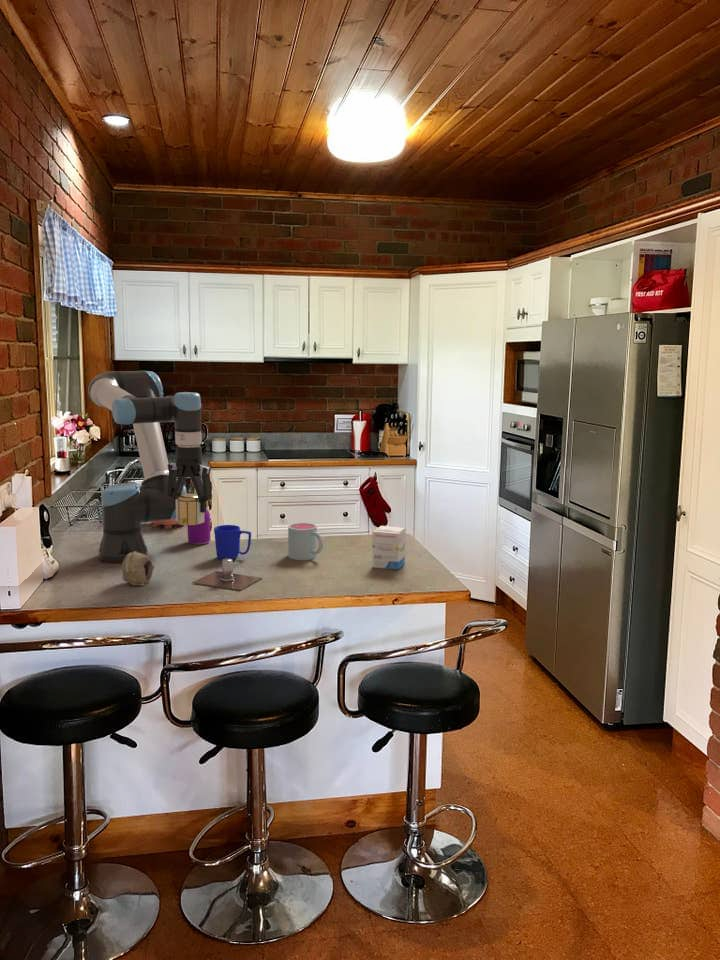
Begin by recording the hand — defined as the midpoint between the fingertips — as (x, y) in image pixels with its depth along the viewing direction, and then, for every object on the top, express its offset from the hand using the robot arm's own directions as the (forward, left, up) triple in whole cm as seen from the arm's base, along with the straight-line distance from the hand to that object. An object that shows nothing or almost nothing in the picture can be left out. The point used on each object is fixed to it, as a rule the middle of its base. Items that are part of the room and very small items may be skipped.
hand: (190, 521), depth 230 cm
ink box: (+52, +31, -16) cm, 63 cm away
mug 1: (+4, +17, -16) cm, 23 cm away
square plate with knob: (+15, -4, -15) cm, 22 cm away
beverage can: (-17, +29, -16) cm, 37 cm away
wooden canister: (0, 0, 0) cm, 0 cm away
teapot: (-41, +44, -16) cm, 62 cm away
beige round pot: (-7, -16, -16) cm, 23 cm away
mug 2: (+25, +28, -16) cm, 41 cm away
